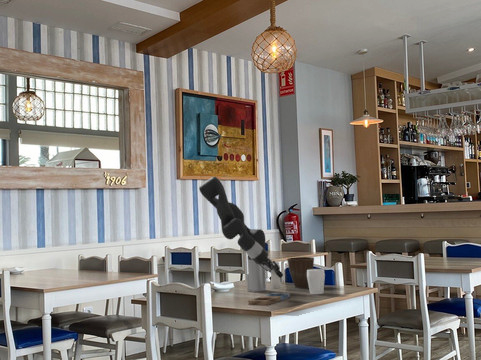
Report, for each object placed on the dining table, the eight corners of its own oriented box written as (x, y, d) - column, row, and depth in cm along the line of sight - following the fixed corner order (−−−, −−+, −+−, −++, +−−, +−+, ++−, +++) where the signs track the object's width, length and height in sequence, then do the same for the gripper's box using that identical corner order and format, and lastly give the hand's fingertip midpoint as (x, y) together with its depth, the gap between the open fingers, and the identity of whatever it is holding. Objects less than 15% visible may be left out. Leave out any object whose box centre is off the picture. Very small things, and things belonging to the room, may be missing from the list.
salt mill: (270, 289, 284) (269, 262, 285) (274, 288, 288) (273, 262, 289) (278, 289, 282) (277, 262, 283) (282, 288, 286) (281, 262, 287)
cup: (322, 291, 305) (321, 268, 306) (328, 294, 296) (326, 269, 297) (305, 293, 304) (304, 269, 305) (310, 295, 295) (309, 271, 296)
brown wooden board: (248, 305, 269) (248, 300, 269) (273, 297, 292) (273, 292, 292) (266, 306, 265) (265, 301, 265) (290, 298, 288) (290, 293, 288)
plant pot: (318, 287, 323) (317, 258, 324) (291, 289, 321) (290, 259, 322) (311, 284, 337) (310, 256, 338) (286, 286, 335) (284, 258, 336)
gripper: (244, 257, 287) (267, 280, 291) (258, 258, 274) (282, 283, 278) (253, 246, 289) (276, 269, 294) (268, 246, 277) (291, 271, 281)
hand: (279, 275), depth 286 cm, fingers closed on salt mill, 4 cm apart
